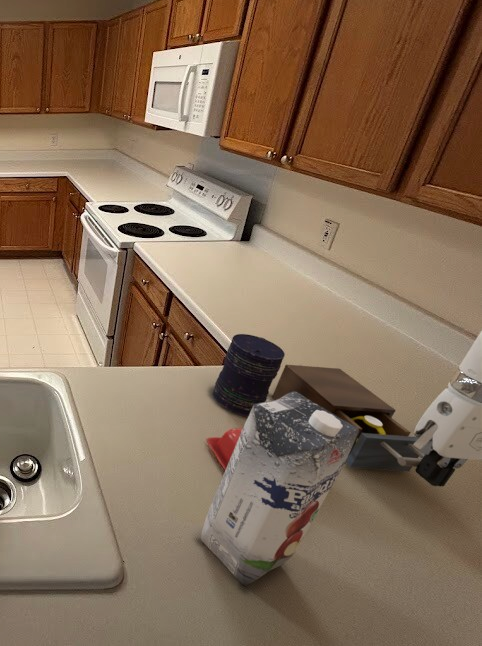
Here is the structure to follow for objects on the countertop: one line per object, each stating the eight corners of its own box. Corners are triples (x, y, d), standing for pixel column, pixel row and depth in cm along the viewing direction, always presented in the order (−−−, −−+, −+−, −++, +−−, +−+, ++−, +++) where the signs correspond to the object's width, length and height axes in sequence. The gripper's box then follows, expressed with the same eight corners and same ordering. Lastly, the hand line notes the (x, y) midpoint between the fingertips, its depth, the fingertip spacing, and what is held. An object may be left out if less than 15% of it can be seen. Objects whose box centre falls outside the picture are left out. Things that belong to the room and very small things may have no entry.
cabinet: (375, 445, 84) (396, 410, 81) (315, 441, 84) (333, 405, 80) (324, 400, 97) (339, 368, 93) (271, 396, 96) (285, 364, 93)
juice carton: (189, 536, 62) (248, 393, 52) (234, 514, 66) (297, 377, 56) (245, 598, 55) (326, 444, 45) (292, 568, 59) (375, 421, 49)
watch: (338, 433, 83) (350, 410, 81) (347, 431, 84) (359, 408, 82) (372, 456, 78) (386, 432, 76) (381, 453, 79) (395, 429, 77)
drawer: (436, 495, 72) (457, 464, 70) (373, 490, 72) (392, 459, 69) (353, 423, 88) (368, 396, 86) (301, 419, 88) (314, 392, 85)
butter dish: (233, 492, 70) (250, 455, 67) (201, 441, 81) (214, 407, 78) (300, 498, 70) (319, 461, 67) (259, 446, 81) (274, 412, 78)
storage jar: (214, 382, 100) (237, 317, 93) (261, 399, 95) (289, 332, 88) (209, 403, 92) (234, 334, 85) (260, 423, 87) (291, 352, 80)
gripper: (468, 403, 58) (407, 496, 65) (568, 411, 59) (497, 502, 65) (415, 371, 65) (365, 458, 72) (505, 378, 66) (447, 463, 72)
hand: (428, 478), depth 69 cm, fingers closed
